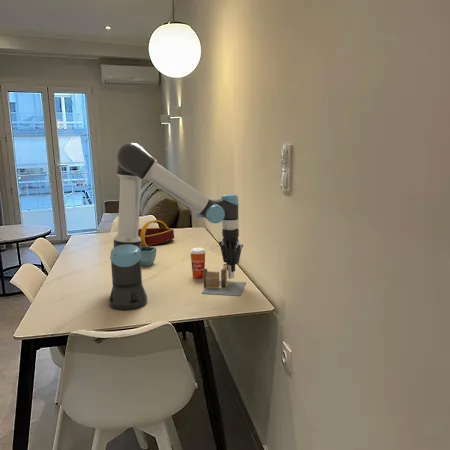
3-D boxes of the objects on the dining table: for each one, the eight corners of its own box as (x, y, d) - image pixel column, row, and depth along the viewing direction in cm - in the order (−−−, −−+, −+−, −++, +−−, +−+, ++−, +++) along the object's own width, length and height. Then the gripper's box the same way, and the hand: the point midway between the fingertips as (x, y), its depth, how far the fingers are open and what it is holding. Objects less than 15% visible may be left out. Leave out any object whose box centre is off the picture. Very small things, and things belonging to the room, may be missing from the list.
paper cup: (189, 279, 190) (188, 251, 187) (192, 274, 197) (191, 247, 195) (205, 279, 189) (204, 251, 186) (207, 274, 196) (207, 247, 194)
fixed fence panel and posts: (225, 288, 177) (225, 270, 175) (203, 287, 179) (203, 269, 177) (226, 287, 179) (225, 269, 177) (204, 286, 180) (204, 268, 179)
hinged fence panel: (225, 285, 179) (225, 269, 178) (222, 285, 179) (221, 269, 178) (227, 279, 188) (227, 263, 186) (223, 278, 188) (223, 263, 186)
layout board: (240, 296, 168) (240, 295, 168) (201, 293, 171) (201, 292, 171) (245, 282, 184) (245, 282, 184) (210, 280, 187) (210, 280, 187)
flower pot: (151, 267, 209) (150, 251, 207) (135, 266, 210) (135, 250, 209) (157, 262, 217) (156, 247, 215) (142, 262, 219) (141, 246, 217)
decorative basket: (152, 238, 287) (148, 217, 285) (186, 235, 275) (183, 214, 273) (123, 249, 257) (118, 227, 255) (160, 247, 245) (155, 224, 242)
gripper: (246, 228, 177) (247, 278, 182) (225, 225, 186) (226, 273, 190) (236, 231, 172) (236, 282, 176) (214, 228, 180) (215, 277, 185)
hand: (231, 277), depth 183 cm, fingers closed
